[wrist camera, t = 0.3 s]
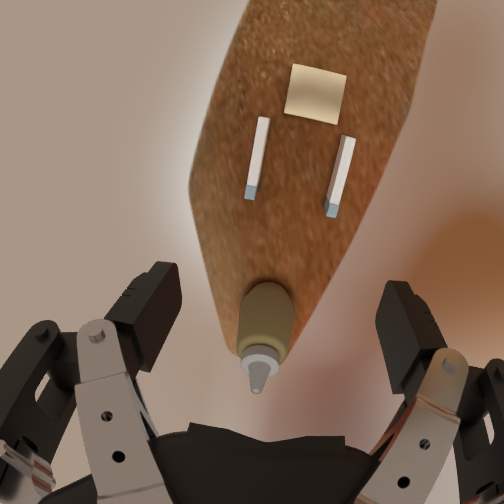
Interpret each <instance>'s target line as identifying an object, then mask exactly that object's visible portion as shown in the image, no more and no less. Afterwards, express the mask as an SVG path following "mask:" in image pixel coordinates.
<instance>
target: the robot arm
mask: <svg viewBox="0 0 504 504" xmlns="http://www.w3.org/2000/svg"><path fill="white" fill-rule="evenodd" d="M181 305H182V293H181V287H180V279H179V272H178V267H177V264H176V263H170V262H160V261H157V262H156V263H155V264H154V265H153V266H152V268H151V269H150V270H149V272H148V273H142V274H141V275H139V276H138V277H136V278H135V279H133V281H132V282H131V283H130V285H129V286H128V287H127V289H126V290H125V291H124V292H123V293H122V296H120V297H119V299H118V300H117V302H116V303H115V304H114V305H113V307H112V308H111V309H110V311H109V312H108V313H107V315H106V316H105V317H104V319H96V320H93V321H90V322H88V323H86V324H85V325H83V326H82V327H81V328H80V330H79V331H78V332H61V331H60V329H59V327H58V325H57V324H56V323H55V322H54V321H51V320H45V321H41V322H38V323H36V324H35V325H33V326H32V327H31V328H30V329H29V331H28V332H27V333H26V335H25V336H24V337H23V339H22V340H21V341H20V343H19V344H18V345H17V347H16V348H15V349H14V351H13V352H12V354H11V355H10V356H9V358H8V359H7V361H6V362H5V364H4V365H3V367H2V368H1V369H0V502H1V503H3V504H424V502H425V500H426V499H427V497H428V495H429V493H430V491H431V489H432V487H433V486H434V484H435V482H436V480H437V478H438V476H439V473H440V472H441V469H442V467H443V465H444V463H445V460H446V458H447V456H448V454H449V451H450V449H451V446H452V444H453V448H454V454H455V460H456V468H457V476H458V485H459V497H460V504H504V361H503V360H501V359H492V360H490V361H489V363H488V364H487V365H486V367H485V368H484V369H482V368H478V367H473V366H468V363H467V361H466V359H465V357H464V356H463V355H462V354H461V353H459V352H458V351H456V350H454V349H452V348H448V347H447V344H446V342H445V340H444V338H443V336H442V334H441V332H440V330H439V327H438V325H437V323H436V322H435V319H434V317H433V316H432V314H431V311H430V309H429V308H428V306H427V304H426V302H424V301H423V300H422V299H421V298H420V297H419V296H418V295H414V293H413V291H412V289H411V287H410V285H409V284H408V282H407V281H392V280H389V281H388V282H387V283H386V285H385V289H384V292H383V295H382V298H381V301H380V304H379V307H378V310H377V313H376V320H375V324H376V330H377V333H378V337H379V340H380V344H381V348H382V351H383V355H384V359H385V363H386V367H387V371H388V376H389V380H390V384H391V388H392V393H393V394H404V396H405V399H404V401H403V402H402V404H401V405H400V407H399V409H398V411H397V412H396V414H395V416H394V418H393V419H392V421H391V422H390V424H389V426H388V427H387V429H386V430H385V432H384V434H383V435H382V437H381V438H380V440H379V441H378V443H377V444H376V445H375V446H374V448H373V449H372V450H371V451H370V453H369V454H367V453H365V452H364V451H361V450H359V449H357V448H353V447H350V446H346V445H345V436H305V437H300V438H294V439H288V440H282V441H276V442H262V441H259V440H256V439H253V438H251V437H247V436H245V435H242V434H239V433H236V432H234V431H231V430H229V429H224V428H218V427H211V426H206V425H201V424H195V423H191V422H190V424H189V428H188V431H182V432H173V433H169V434H165V435H162V436H159V434H158V432H157V430H156V428H155V426H154V424H153V422H152V420H151V417H150V415H149V412H148V409H147V407H146V404H145V401H144V399H143V396H142V393H141V390H140V387H139V384H138V381H137V379H136V375H137V373H138V371H139V370H141V371H145V372H149V373H150V372H151V370H152V367H153V365H154V363H155V361H156V359H157V357H158V355H159V353H160V350H161V348H162V346H163V344H164V342H165V340H166V338H167V336H168V334H169V332H170V330H171V328H172V326H173V324H174V321H175V319H176V318H177V316H178V314H179V311H180V309H181ZM46 373H47V374H48V375H49V377H50V379H49V381H48V383H47V384H46V386H45V388H44V390H43V391H42V393H41V395H40V397H39V399H38V400H37V402H36V400H35V391H36V389H37V387H38V385H39V384H40V382H41V380H42V379H43V377H44V375H45V374H46ZM76 406H77V409H78V415H79V420H80V426H81V431H82V436H83V441H84V445H85V449H86V454H87V457H88V461H89V465H90V469H91V472H92V473H91V474H89V475H88V476H86V477H84V478H81V479H80V480H77V481H76V482H73V483H71V484H69V485H67V486H65V487H63V488H60V489H58V490H56V491H54V492H52V489H53V488H54V487H55V485H56V481H55V479H54V477H53V473H52V469H51V466H50V465H51V462H52V460H53V457H54V455H55V453H56V450H57V448H58V445H59V443H60V441H61V438H62V436H63V434H64V432H65V429H66V427H67V425H68V423H69V421H70V418H71V416H72V414H73V412H74V410H75V408H76ZM488 413H489V414H490V417H491V421H492V425H493V429H494V439H493V442H492V444H491V445H490V443H489V438H488V434H487V430H486V426H485V422H484V419H483V418H484V417H485V416H486V415H487V414H488Z"/></svg>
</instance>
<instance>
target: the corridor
mask: <svg viewBox="0 0 504 504" xmlns="http://www.w3.org/2000/svg"><path fill="white" fill-rule="evenodd" d="M270 120H271V118H267V117H259V118H258V124H257V129H256V135H255V140H254V146H253V152H252V157H251V163H250V169H249V175H248V180H247V185H246V190H245V196H244V198H246V199H251V200H254V199H255V196H256V194H257V190H258V184H259V179H260V173H261V168H262V163H263V157H264V152H265V147H266V141H267V136H268V131H269V125H270ZM355 141H356V139H354V138H352V137H349V136H345V135H341V139H340V144H339V148H338V152H337V156H336V160H335V165H334V169H333V173H332V177H331V180H330V184H329V188H328V192H327V196H326V200H325V203H324V210H325V213H326V216H329V217H333V218H336V215H337V212H338V209H339V202H340V199H341V195H342V192H343V188H344V184H345V180H346V177H347V173H348V169H349V165H350V161H351V157H352V153H353V149H354V145H355Z"/></svg>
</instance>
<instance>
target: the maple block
mask: <svg viewBox="0 0 504 504" xmlns="http://www.w3.org/2000/svg"><path fill="white" fill-rule="evenodd" d="M346 77H347V76H344V75H341V74H337V73H333V72H329V71H325V70H321V69H317V68H312V67H308V66H303V65H298V64H293V67H292V72H291V78H290V83H289V89H288V94H287V99H286V105H285V110H284V113H287V114H292V115H296V116H301V117H306V118H310V119H315V120H319V121H323V122H327V123H331V124H335V125H337V122H338V118H339V113H340V108H341V103H342V98H343V93H344V87H345V82H346Z"/></svg>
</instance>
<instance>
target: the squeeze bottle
mask: <svg viewBox="0 0 504 504" xmlns="http://www.w3.org/2000/svg"><path fill="white" fill-rule="evenodd" d="M294 311H295V308H294V306H293V303H292V301H291V299H290V297H289V296H288V294H287V292H286V290H285V289H284V288H283V287H282V286H281V285H278V284H276V283H274V282H264V283H260V284H258V285H257V286H255V287H254V288H253V289H252V290H251V291H250V292H249V293H248V294H247V295H246V296H245V297H244V299H243V301H242V303H241V305H240V314H239V325H238V336H237V353H238V355H239V356H240V358H241V368H242V369H243V371H244V372H245V373H247V374H248V375H249V377H250V386H251V392H252V393H254V394H260V393H261V392H262V390H263V387H264V385H265V382H266V380H267V378H268V377H270V376H273V375H275V374H276V373H277V371H278V370H279V363H281V362H283V360H284V359H285V358H286V357H287V353H288V347H289V342H290V336H291V330H292V324H293V318H294Z"/></svg>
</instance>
